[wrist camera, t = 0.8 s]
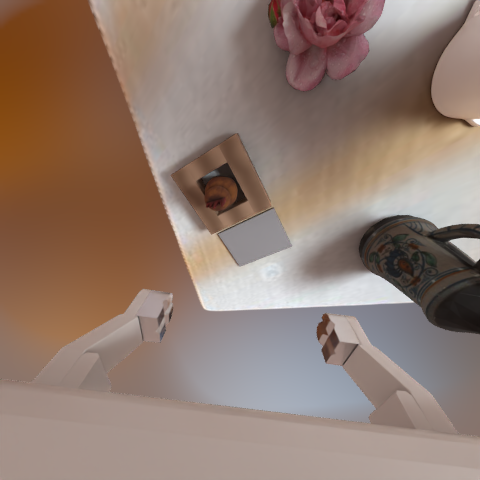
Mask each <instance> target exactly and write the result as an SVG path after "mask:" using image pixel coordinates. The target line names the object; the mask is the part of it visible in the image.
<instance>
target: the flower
mask: <svg viewBox="0 0 480 480" xmlns="http://www.w3.org/2000/svg"><path fill="white" fill-rule="evenodd" d="M384 3H385V0H272V1H271V2H270V4H269V7H268V17H269V20H270V24H271V27H272V28H274V37H275V41H276V44H277V46H278V47H279V48H281V49H282V50H285V51H289V52H290V55H289V58H288V61H287V65H286V78H287V81H288V83H289V84H290V85H291V86H292V87H293V88H294V89H297V90H301V91H308V90H312V89H313V88H315V87H316V86H317V85H318V84H319V83H320V82H321V80H322V78H323V76H324V75H325V71H326V74H327V75H328V76H329V77H330V78H332V79H335V80H337V79H339V80H341V79H342V78H344V77H345V76H347V75H349V74H350V73H352V72H354V71H355V70H356V69H357V68H358V66H359V65H360V63H361V62H362V61H363V60H364V59H365V57H366V56H367V54H368V52H369V45H368V41H367V40H366V38H365V36H364V35H363V34H364V33H365V32H366V31H368V30H369V29H371V28H372V27H373V26H374V24H375V23H376V22H377V21H378V19H379V17H380V16H381V14H382V11H383V7H384Z"/></svg>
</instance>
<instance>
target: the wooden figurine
mask: <svg viewBox="0 0 480 480" xmlns="http://www.w3.org/2000/svg"><path fill="white" fill-rule="evenodd" d="M237 190H238V189H237V185H236V183H235V181H234V180H233V179H231V178H229V177H225V176H218V177H214V178H212V179H211V180H210V181H209V182H208V183H207V185H206V187H205V196H204V199H205V203H206V208H208V207H209V208H210V209H211V210H213V211H222V210H224V209H226V208H227V207H228V206H229V205H231V204H233V203H234V202H235V200H236V198H237Z"/></svg>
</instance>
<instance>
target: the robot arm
mask: <svg viewBox="0 0 480 480" xmlns="http://www.w3.org/2000/svg"><path fill="white" fill-rule="evenodd" d="M431 94H432V100H433V103H434V105H435V107H436V109H437V110H438V111H439V112H440V113H441V114H443V115H445V116H447V117H450V118H459V119H464V120H466V121H467V122H468V123H469V124H471V125H472V126H480V0H476V1H475V3H474V5H473V7H472V8H471V11H470V13H469V15H468V17H467V19H466V21H465V23H464V25H463V26H462V27H461V29H460V30H459V31H458V33H457V34H456V35H455V36H454V38H453V39H452V40H451V42H450V43H449V44H448V46H447V47H446V49H445V50H444V52H443V54H442V56H441V57H440V60H439V62H438V64H437V66H436V69H435V72H434V75H433V79H432V86H431ZM172 298H173V296H172V293H166V292H159V291H154V290H146V289H142V290H141V291H140V292H139V294H138V295H137V296H136V298H135V299H134V300H133V302H132V303H131V305H130V306H129V307H128V309H127V310H126V311H125V313H124V314H120V315H118V316H116V317H115V318H113V319H111V320H109V321H108V322H106V323H104V324H103V325H101V326H99V327H97V328H96V329H94V330H92V331H90V332H89V333H87V334H85V335H83V336H82V337H80V338H78V339H77V340H75V341H73V342H72V343H70V344H68V345H66V346H64V347H63V348H62V349H61V350H60V351H59V352H58V353H57V354H56V355H55V356H54V358H53V359H52V360H51V361H50V362H49V363H48V364H47V365H46V367H45V368H44V369H43V370H42V371H41V372H40V373H39V374H38V375H37V377H36V378H35V379H34V380H33V381H32V382H31V383H29V382H20V381H12V380H4V379H0V480H480V437H479V436H471V435H462V434H459V433H458V432H457V430H456V429H455V428H454V426H453V425H452V423H451V422H450V420H449V419H448V417H447V416H446V415H445V413H444V412H443V410H442V409H441V408H440V406H439V405H438V403H437V402H436V400H435V399H434V397H433V396H432V395H431V393H429V392H428V391H427V390H426V389H425V388H423V387H422V386H421V385H420V384H419V383H418V382H416V381H415V380H414V379H413V378H412V377H411V376H409V375H408V374H407V373H406V372H405V371H403V370H402V369H401V368H399V366H397V365H396V364H395V363H394V362H393V361H392V360H390V359H389V358H388V357H387V356H386V355H384V354H383V353H382V352H381V351H380V350H378V349H377V348H376V347H374V346H372V345H371V343H370V341H369V340H368V338H367V336H366V335H365V333H364V331H363V330H362V328H361V326H360V324H359V323H358V321H357V319H356V318H355V317H353V316H345V315H337V314H329V313H325V314H323V316H322V320H323V321H322V322H320V323H319V324H318V326H317V338H318V341H319V343H320V344H321V345H322V346H323V347H322V353H323V356H324V359H325V362H326V363H327V364H334V365H340V366H343V368H344V369H345V371H346V372H347V373H348V374H349V376H350V377H351V378H352V379H353V381H354V382H355V383H356V384H357V386H358V387H359V388H360V389H361V390H362V392H363V393H364V394H365V395H366V397H367V398H368V399H369V400H370V401H371V403H372V404H373V405H374V407H375V408H376V410H374V411H373V412H372V413H371V414H370V416H369V420H370V422H371V423H362V422H354V421H346V420H338V419H330V418H321V417H313V416H305V415H296V414H288V413H280V412H271V411H263V410H254V409H246V408H238V407H230V406H221V405H212V404H205V403H195V402H188V401H180V400H171V399H163V398H154V397H145V396H138V395H129V394H121V393H113V392H109V391H110V389H111V383H110V381H109V378H108V376H107V373H108V372H109V371H111V370H112V369H113V368H114V367H115V366H116V365H117V364H119V362H121V361H122V360H123V359H124V358H125V357H127V356H128V355H129V354H130V353H131V352H132V351H133V350H134V349H136V348H137V347H138V346H139V345H140V344H141V343H142V342H143V341H148V342H159V343H160V342H161V340H162V338H163V336H164V334H165V331H166V326H165V325H167V324H168V323H169V322H170V319H171V317H172V313H173V304H172V303H171V301H172Z"/></svg>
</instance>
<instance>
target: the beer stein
mask: <svg viewBox="0 0 480 480" xmlns="http://www.w3.org/2000/svg"><path fill="white" fill-rule="evenodd" d="M457 238H478V239H480V225H479V224H459V225H452V226H447V227H444V228H440V229H438V228H437V227H436V226H435V225H434V224H433V223H431V222H429V221H428V220H425V219H422V218H417V217H413V216H410V215H397V216H394V217H390V218H387V219H384V220H382V221H380V222H379V223H377V224H375V225H374V226H372V227H371V228H370V229H369V230H368V231H367V232H366V233H365V234H364V236H363V238H362V239H361V243H360V247H359V252H360V256H361V258H362V260H363V263H364V265H365V266H366V267H367V268H368V270H370V271H371V272H372V273H374V274H376V275H378V276H380V277H382V278H384V279H385V280H387V281H388V282H390V283H391V284H393V285H394V286H395V287H396V288H398V289H399V290H400V291H401V292H403V293H404V294H405V295H406V296H408V297H409V298H410V299H411V300H412V301H414V302H415V303H416V304H418V305H419V306H420V307H421V308H422V310H423V312H424V314H425V316H426V317H427V319H428V320H429V322H431V323H432V324H433V325H435V326H437V327H440V328H443V329H445V330H449V331H455V332H467V333H475V334H480V260H478V261H477V262H475V261H474V260H473V259H472V258H470V257H469V256H468V255H467V254H465V253H464V252H463V251H461V250H460V249H459V248H457V247H456V246H455V245H454V244H452V243H451V242H449V241H450V240H452V239H457Z"/></svg>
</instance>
